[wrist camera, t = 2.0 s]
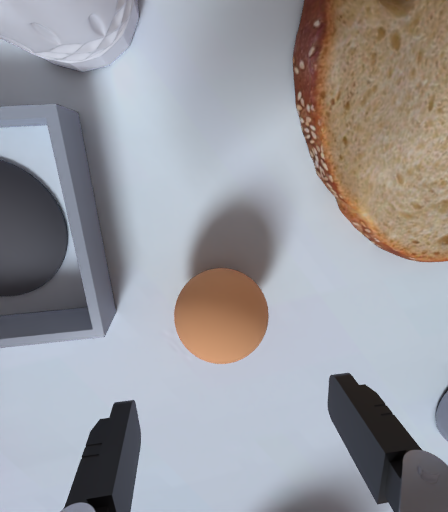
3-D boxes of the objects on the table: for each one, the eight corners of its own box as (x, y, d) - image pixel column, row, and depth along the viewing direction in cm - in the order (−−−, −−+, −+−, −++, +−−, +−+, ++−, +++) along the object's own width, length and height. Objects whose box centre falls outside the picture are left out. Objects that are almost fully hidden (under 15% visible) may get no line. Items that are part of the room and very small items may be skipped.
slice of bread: (457, 269, 25) (502, 288, 21) (242, 221, 22) (252, 234, 18) (584, 10, 20) (670, -22, 16) (327, -101, 17) (364, -170, 13)
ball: (256, 252, 22) (279, 286, 16) (258, 325, 24) (279, 379, 18) (171, 259, 22) (165, 297, 16) (180, 334, 23) (177, 391, 18)
